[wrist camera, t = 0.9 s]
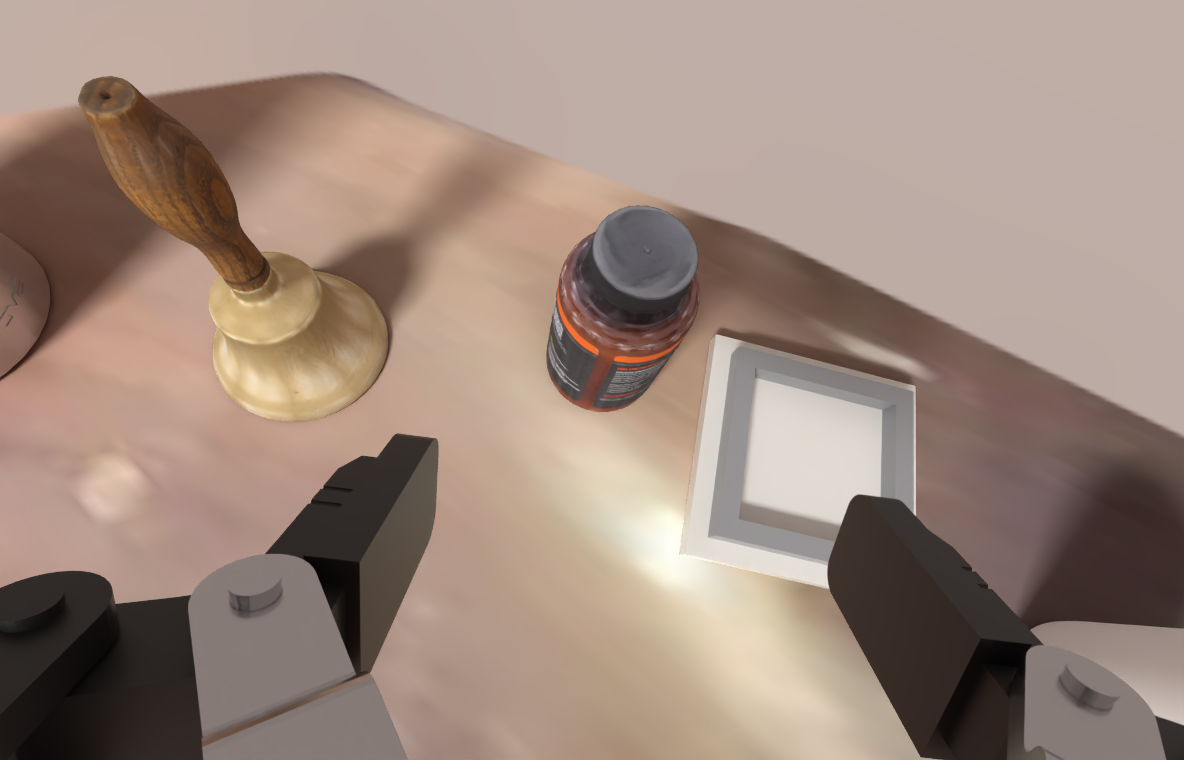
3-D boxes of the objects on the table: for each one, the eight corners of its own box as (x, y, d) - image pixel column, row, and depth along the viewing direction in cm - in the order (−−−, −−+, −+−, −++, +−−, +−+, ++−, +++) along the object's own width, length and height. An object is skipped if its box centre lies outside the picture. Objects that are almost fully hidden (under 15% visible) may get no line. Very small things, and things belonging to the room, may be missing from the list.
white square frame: (679, 554, 28) (693, 552, 26) (709, 341, 32) (724, 325, 30) (902, 606, 29) (933, 608, 27) (903, 391, 33) (930, 379, 31)
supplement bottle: (672, 365, 31) (759, 258, 21) (600, 437, 29) (655, 359, 19) (596, 294, 32) (642, 156, 22) (521, 359, 30) (531, 242, 20)
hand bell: (346, 249, 31) (202, -57, 16) (416, 373, 29) (328, 159, 14) (188, 314, 28) (-156, 24, 14) (255, 453, 27) (-56, 296, 12)
